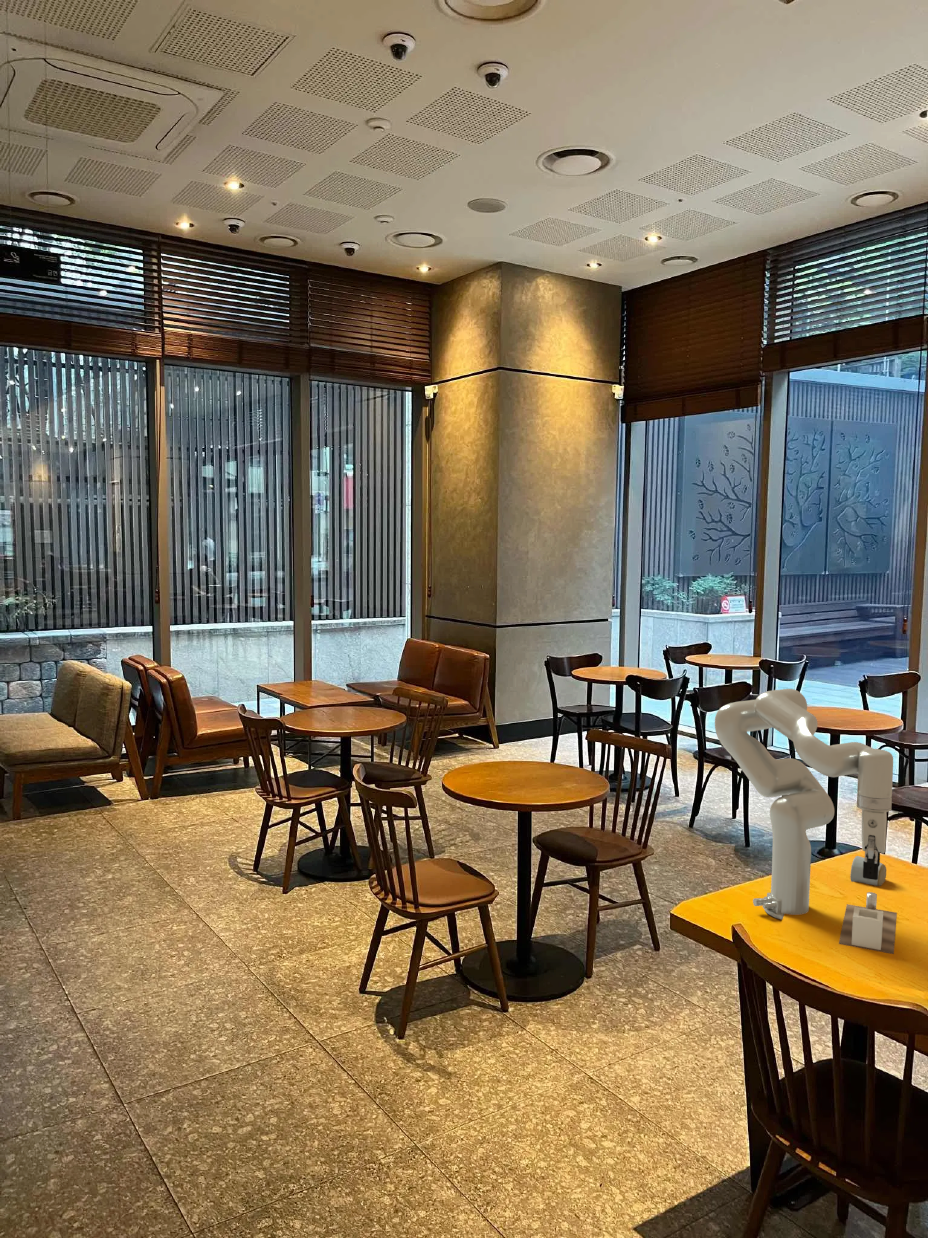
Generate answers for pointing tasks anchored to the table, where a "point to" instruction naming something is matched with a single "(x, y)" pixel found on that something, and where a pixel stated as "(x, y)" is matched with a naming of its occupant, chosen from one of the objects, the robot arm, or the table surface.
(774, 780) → the robot arm
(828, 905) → the table surface
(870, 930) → the cream housing
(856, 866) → the ceramic mug
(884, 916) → the walnut board
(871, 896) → the metal stub
